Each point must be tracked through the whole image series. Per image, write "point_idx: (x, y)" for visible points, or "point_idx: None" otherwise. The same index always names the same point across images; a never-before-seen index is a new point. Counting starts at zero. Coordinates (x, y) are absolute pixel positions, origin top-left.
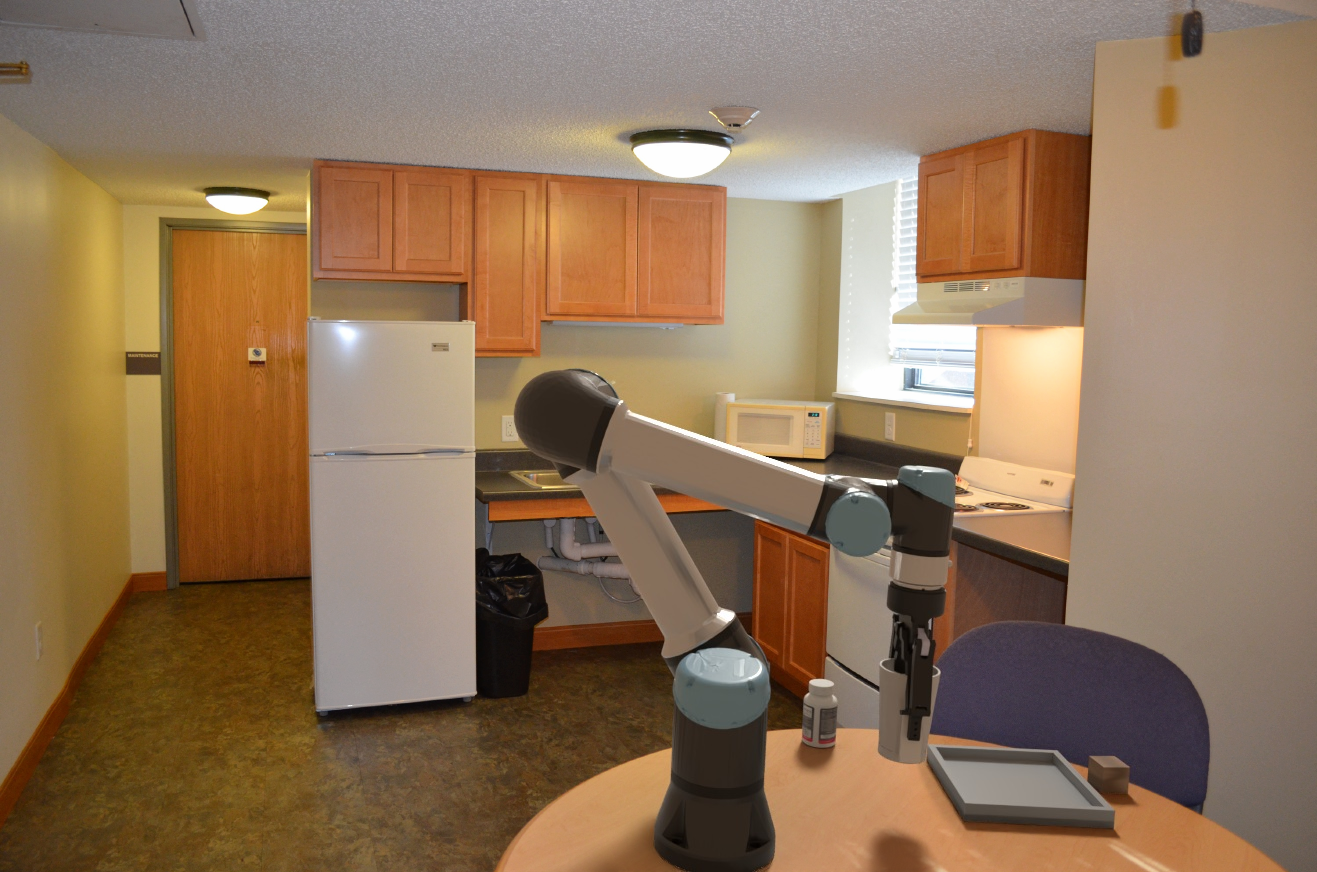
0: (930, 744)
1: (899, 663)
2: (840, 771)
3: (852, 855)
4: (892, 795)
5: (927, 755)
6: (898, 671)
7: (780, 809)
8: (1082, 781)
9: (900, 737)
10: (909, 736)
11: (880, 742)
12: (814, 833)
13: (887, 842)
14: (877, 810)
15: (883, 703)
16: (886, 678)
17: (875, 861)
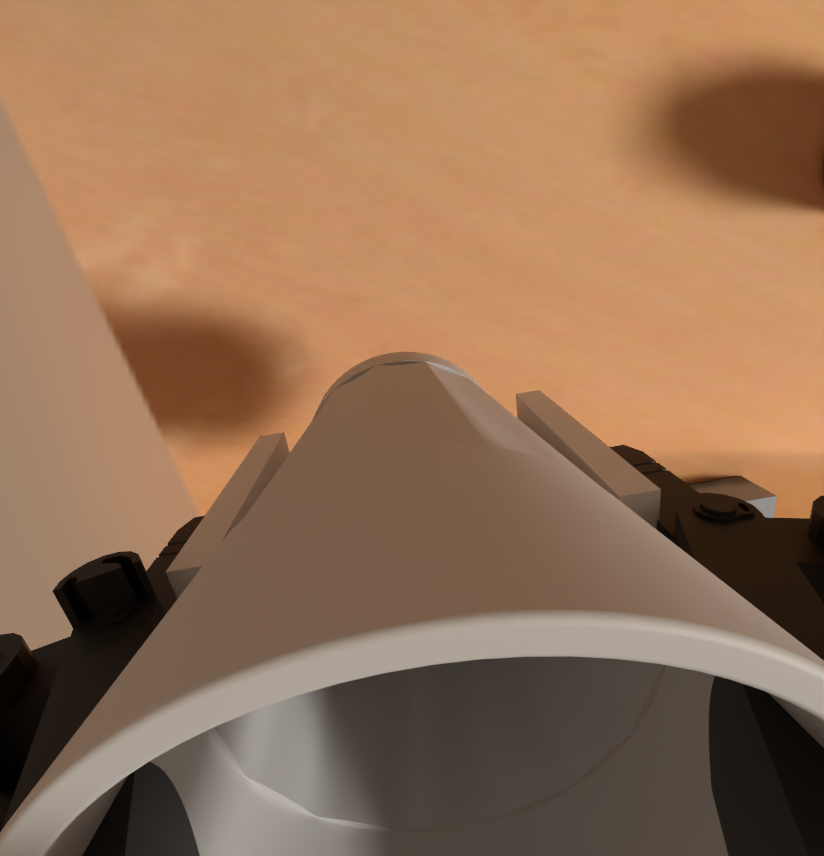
0: (773, 503)
1: (769, 817)
2: (646, 229)
3: (114, 255)
4: (507, 378)
5: (744, 483)
6: (721, 687)
7: (325, 5)
8: None
9: (247, 478)
10: (177, 533)
11: (372, 369)
12: (199, 136)
13: (228, 352)
14: (405, 334)
15: (330, 440)
16: (183, 611)
17: (110, 317)
